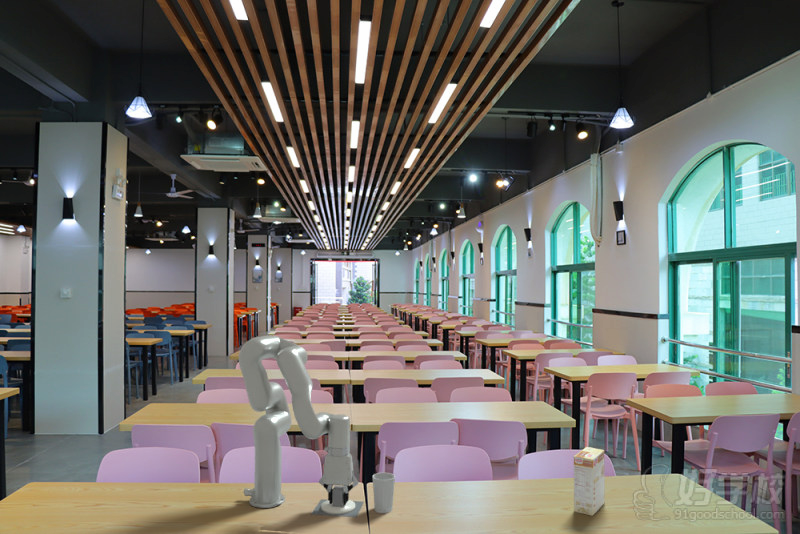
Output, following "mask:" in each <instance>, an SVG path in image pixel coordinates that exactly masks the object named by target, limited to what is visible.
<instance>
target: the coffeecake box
mask: <svg viewBox="0 0 800 534" xmlns="http://www.w3.org/2000/svg"><path fill="white" fill-rule="evenodd" d="M605 503H606V500H605V449H600V448H595V447H589V446H585V447H584V448H583V449H581V450H580V451H579V452H578V453H576V454H575V455H574V456H573V512H575V513H579V514H584V515H588V516H592V517H593V516H594V515H595V514H596V513H597V512H598V511H599V510H601V508H602V506H604V505H605Z"/></svg>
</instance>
